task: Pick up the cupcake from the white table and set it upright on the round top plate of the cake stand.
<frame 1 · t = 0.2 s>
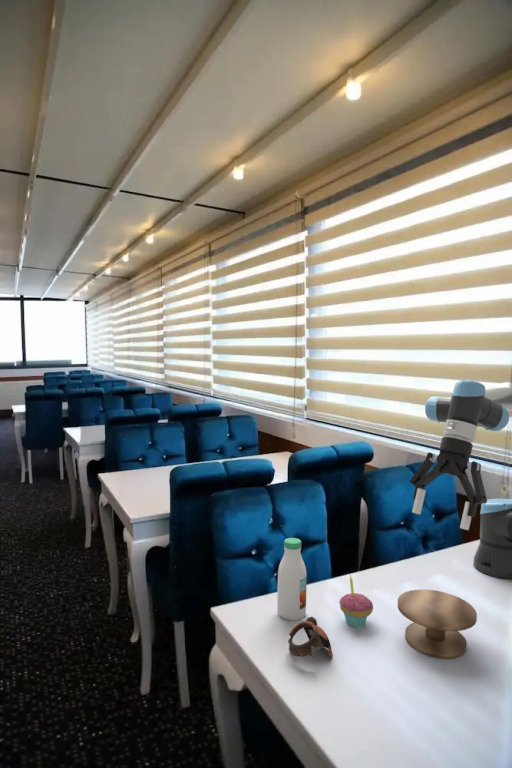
hand: (439, 521, 121), 28 cm above the table, tool tilted 20°, fingers open, 13 cm apart
cupcake: (356, 623, 125), on the table
cake stand: (435, 641, 117), on the table
pottery mug: (310, 653, 112), on the table
milk bottle: (291, 614, 129), on the table
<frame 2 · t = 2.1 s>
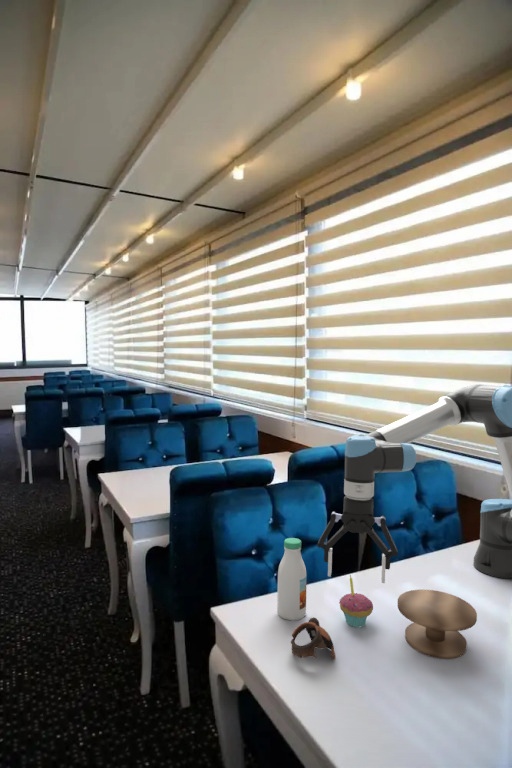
hand: (356, 577, 125), 12 cm above the table, tool pointing down, fingers open, 13 cm apart
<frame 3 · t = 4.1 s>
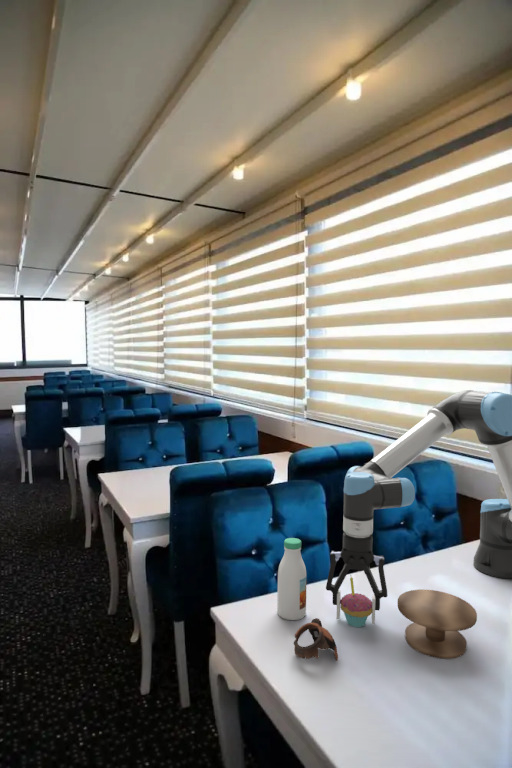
hand: (355, 618, 125), 1 cm above the table, tool pointing down, fingers closed on cupcake, 8 cm apart
cupcake: (356, 623, 125), on the table, touching gripper
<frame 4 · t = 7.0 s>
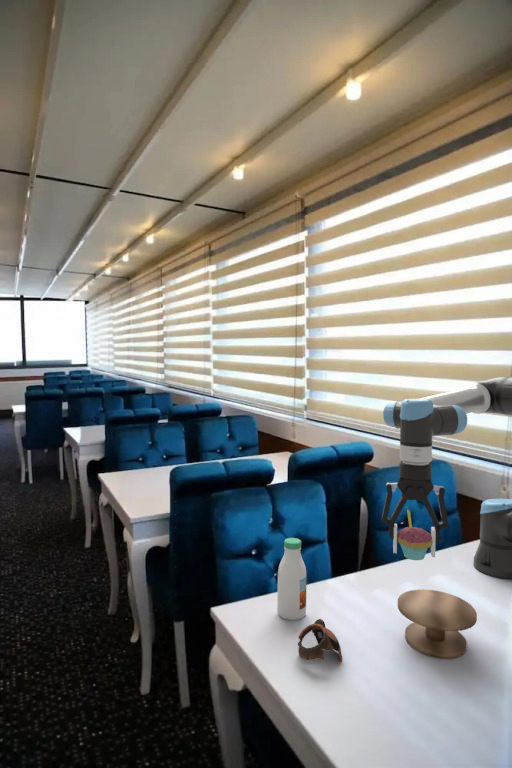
hand: (413, 552, 119), 21 cm above the table, tool pointing down, fingers closed on cupcake, 8 cm apart
cupcake: (414, 557, 119), point 20 cm above the table, touching gripper
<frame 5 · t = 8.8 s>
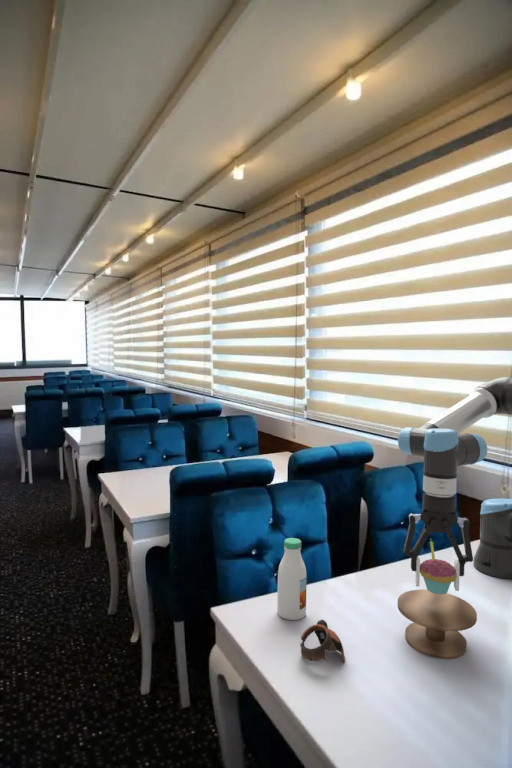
hand: (436, 586, 116), 14 cm above the table, tool pointing down, fingers closed on cupcake, 8 cm apart
cupcake: (437, 590, 116), point 13 cm above the table, touching gripper
when the fingers open (11 cm above the table, at t = 10.2 s): cupcake drops 1 cm, resting on cake stand.
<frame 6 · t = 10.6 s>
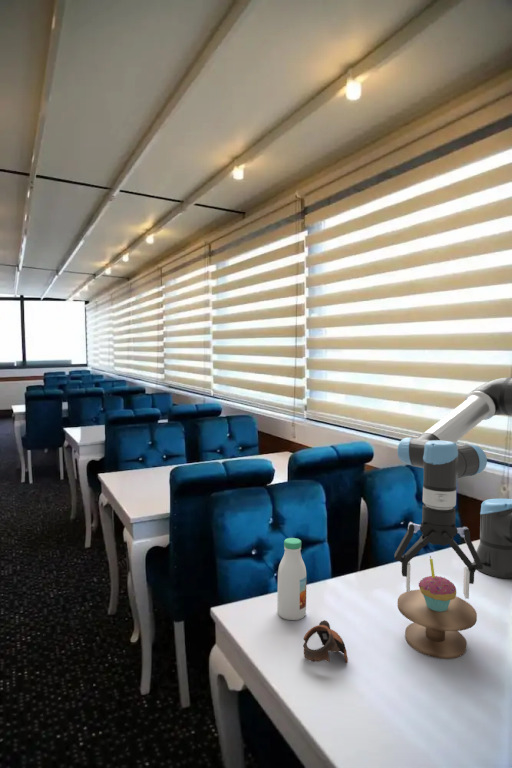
hand: (436, 592, 116), 12 cm above the table, tool pointing down, fingers open, 13 cm apart
cupcake: (437, 607, 117), point 8 cm above the table, touching cake stand
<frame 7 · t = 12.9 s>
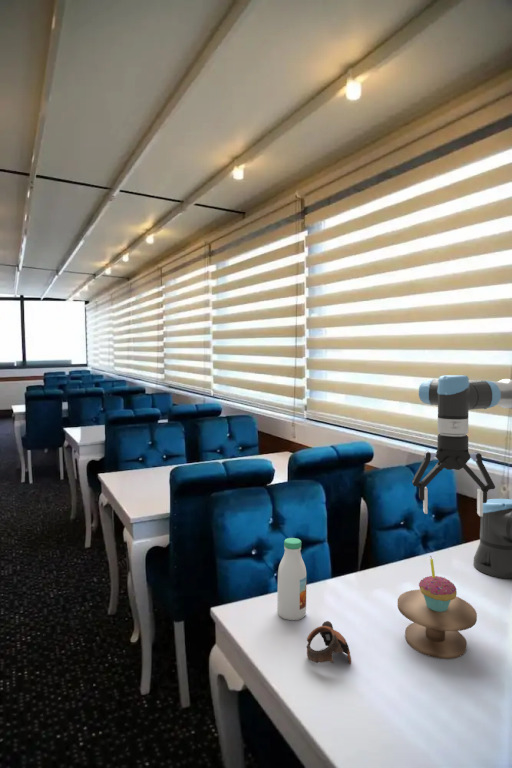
hand: (452, 513, 127), 28 cm above the table, tool pointing down, fingers open, 13 cm apart
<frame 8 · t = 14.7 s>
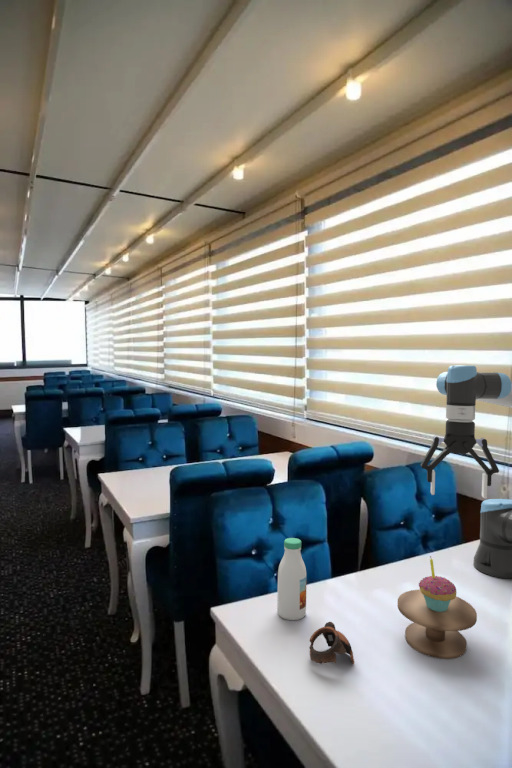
hand: (458, 495, 135), 31 cm above the table, tool pointing down, fingers open, 13 cm apart
at the end: cupcake inside the target area on the cake stand (0.3 cm from its centre), point 8.4 cm above the cake stand's base; cupcake tilted 0°; the gripper is holding nothing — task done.
